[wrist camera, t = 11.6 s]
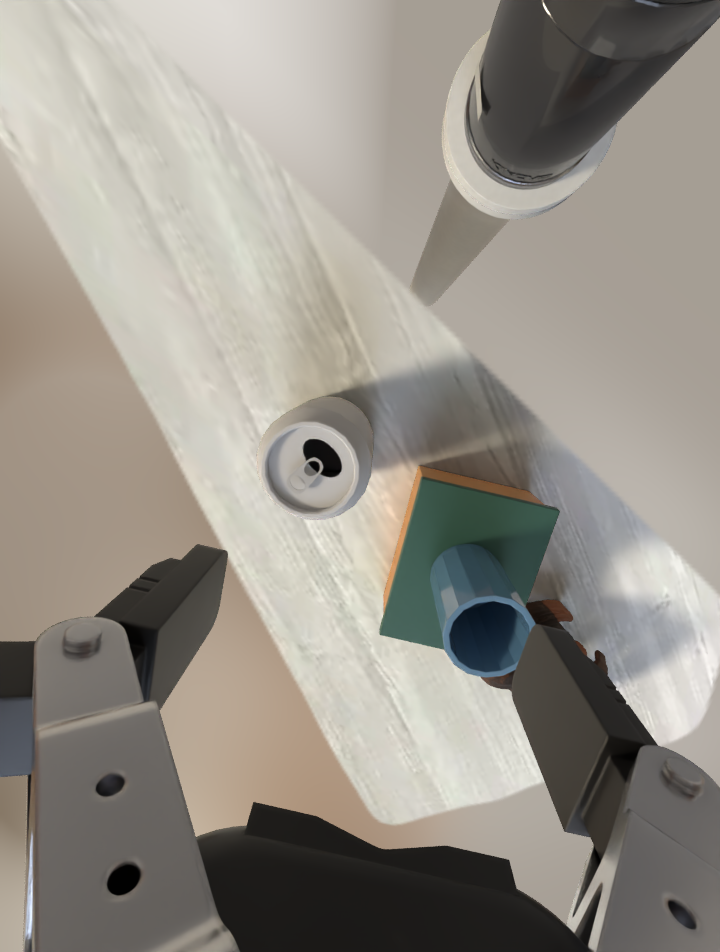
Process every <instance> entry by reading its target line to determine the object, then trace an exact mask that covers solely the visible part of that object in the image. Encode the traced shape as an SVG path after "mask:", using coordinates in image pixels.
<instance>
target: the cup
mask: <svg viewBox="0 0 720 952" xmlns="http://www.w3.org/2000/svg"><path fill="white" fill-rule="evenodd" d="M430 584H431V590H432V595H433V600H434V604H435V609H436V613H437V618H438V622H439V627H440V631H441V636H442V640H443V645H444V649H445V652H446V653H447V655H448V656H449V658H450V659H451V661H452V662H453V664H454V665H456V666H457V667H459V668H460V669H462V670H463V671H465V672H466V673H468V674H472V675H476V676H480V677H496V676H503V675H506V674H508V673H510V672H512V671H514V670H516V667H517V665H518V662H519V659H520V657H521V654H522V651H523V649H524V646H525V643H526V641H527V638H528V635H529V633H530V630H531V629H532V627H533V626H534V625H536V624H535V622H534V620H533V618H532V616H531V615H530V613H529V611H528V610H527V608H526V606H525V605H524V603H523V601H522V600H521V598H520V596H519V595H518V593H517V591H516V590H515V588H514V586H513V585H512V583H511V581H510V579H509V578H508V576H507V574H506V573H505V571H504V569H503V568H502V566H501V564H500V563H499V561H498V559H497V558H496V557H495V556H494V554H493V553H491V552H490V551H489V550H487V549H486V548H484V547H481V546H478V545H474V544H461V545H456V546H453V547H451V548H449V549H447V550H445V551H444V552H443V553H441V554H440V555H439V556H438V557H437V559H436V560H435V562H434V563H433V565H432V568H431V572H430Z"/></svg>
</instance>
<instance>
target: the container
mask: <svg viewBox="0 0 720 952" xmlns="http://www.w3.org/2000/svg"><path fill="white" fill-rule="evenodd" d="M559 512H560V511H559V510H558V509H557V508H555V507H551V506H547V505H544V504H543V503H542V502H541V501H540V500H539V499H537V498H536V497H535V496H534V495H533V494H532V493H530V492H529V491H525V490H521V489H517V488H512V487H508V486H504V485H500V484H495V483H491V482H487V481H483V480H478V479H474V478H470V477H465V476H461V475H457V474H453V473H448V472H444V471H440V470H436V469H431V468H427V467H423V466H418V470H417V473H416V477H415V481H414V485H413V488H412V492H411V496H410V499H409V503H408V507H407V510H406V514H405V518H404V522H403V525H402V529H401V533H400V536H399V540H398V544H397V548H396V551H395V555H394V559H393V562H392V566H391V570H390V573H389V577H388V581H387V585H386V588H385V592H384V615H383V618H382V622H381V626H380V635H383V636H388V637H392V638H396V639H401V640H405V641H409V642H414V643H418V644H422V645H427V646H431V647H435V648H440V649H444V645H443V640H442V636H441V631H440V627H439V622H438V618H437V613H436V609H435V604H434V600H433V595H432V590H431V584H430V572H431V568H432V565H433V563H434V562H435V560H436V559H437V557H438V556H439V555H440V554H441V553H443V552H444V551H445V550H447V549H449V548H451V547H453V546H456V545H461V544H474V545H478V546H481V547H484V548H486V549H487V550H489V551H490V552H491V553H493V554H494V556H495V557H496V558H497V559H498V561H499V563H500V564H501V566H502V568H503V569H504V571H505V573H506V574H507V576H508V578H509V579H510V581H511V583H512V585H513V586H514V588H515V590H516V591H517V593H518V595H519V596H520V598H521V600H522V601H523V603H524V605H525V606H526V604H527V601H528V598H529V595H530V593H531V590H532V587H533V584H534V582H535V579H536V576H537V573H538V570H539V568H540V565H541V562H542V559H543V557H544V554H545V551H546V548H547V546H548V543H549V540H550V537H551V535H552V532H553V529H554V526H555V524H556V521H557V518H558V515H559ZM444 650H445V649H444Z"/></svg>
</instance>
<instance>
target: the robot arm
mask: <svg viewBox="0 0 720 952" xmlns="http://www.w3.org/2000/svg"><path fill="white" fill-rule="evenodd" d="M719 17H720V0H501V1H500V4H499V7H498V10H497V13H496V16H495V19H494V22H493V25H492V28H491V31H490V34H489V37H488V40H487V43H486V46H485V49H484V52H483V54H482V57H481V60H480V63H479V61H478V64H477V67H476V70H475V75H474V78H473V80H472V83H471V86H470V89H469V93H468V96H467V100H466V105H465V113H464V127H465V135H466V139H467V143H468V146H469V149H470V152H471V154H472V156H473V158H474V160H475V162H476V163H477V164H478V166H479V167H480V168H481V170H482V171H483V172H484V173H485V174H486V175H487V176H488V177H490V178H491V179H493V180H494V181H496V182H497V183H499V184H501V185H504V186H506V187H509V188H514V189H521V190H530V189H537V188H541V187H544V186H547V185H550V184H552V183H554V182H556V181H558V180H559V179H561V178H563V177H564V176H565V175H567V174H568V173H569V172H570V171H571V170H573V169H574V168H575V167H576V166H577V165H578V164H579V163H580V162H581V160H582V159H583V158H584V157H585V156H586V155H587V153H588V152H589V151H590V149H591V148H592V147H593V146H594V145H595V144H596V143H597V142H598V141H599V140H600V139H601V138H602V137H603V136H604V135H605V134H606V133H607V132H608V131H609V130H610V129H611V128H612V127H613V126H614V125H615V124H616V123H617V122H618V121H619V120H620V119H621V118H622V117H623V116H624V115H625V114H626V113H627V112H628V111H629V110H630V109H631V108H632V107H633V106H634V105H635V104H636V103H637V102H638V101H639V100H640V99H641V97H643V95H644V94H645V93H646V92H647V91H648V90H649V89H650V88H651V87H652V86H653V85H654V84H655V83H656V82H657V81H658V80H659V79H660V78H661V77H662V76H663V75H664V74H665V73H666V72H667V71H668V70H669V69H670V68H671V67H672V66H673V65H674V64H675V63H676V62H677V61H678V60H679V59H680V57H682V56H683V55H684V54H685V52H687V51H688V50H689V49H690V47H691V46H692V45H693V44H694V43H695V42H696V41H697V40H698V39H699V38H700V37H701V36H702V35H703V34H704V33H705V32H706V31H707V30H708V29H709V28H710V27H711V26H712V25H713V24H714V23H715V22H716V21H717V19H718V18H719ZM227 558H228V553H227V551H225V550H221V549H217V548H212V547H208V546H204V545H200V544H197V545H196V546H195V547H194V548H193V549H192V550H191V551H190V552H189V553H188V554H187V555H186V556H185V557H184V558H183V559H182V560H177V559H173V558H170V559H167V560H165V561H162V562H159V563H157V564H155V565H152V566H151V567H150V568H149V569H147V570H146V571H145V572H144V573H143V574H142V575H141V576H140V578H139V579H138V578H137V579H136V580H135V581H134V582H133V583H132V584H131V585H130V586H129V588H126V589H125V590H124V591H123V592H121V593H120V594H119V595H118V596H117V597H116V598H115V599H113V600H112V601H111V602H110V603H109V604H108V605H107V606H106V607H105V608H103V609H102V610H101V611H100V612H99V613H98V614H96V615H95V616H94V617H80V618H74V619H70V620H66V621H63V622H60V623H57V624H55V625H53V626H51V627H50V628H48V629H47V630H45V631H44V632H43V633H42V634H40V636H39V637H38V638H37V640H36V641H29V642H0V777H8V776H18V775H19V776H20V775H27V810H26V811H27V812H26V863H25V865H26V866H25V900H24V928H23V930H24V931H23V952H720V787H719V786H718V785H717V784H716V783H715V782H714V781H713V779H712V778H711V777H710V776H709V775H707V774H706V773H705V772H704V771H703V770H702V769H701V768H699V767H698V766H697V765H695V764H694V763H693V762H691V761H690V760H688V759H686V758H685V757H683V756H681V755H679V754H678V753H676V752H674V751H671V750H669V749H667V748H664V747H661V746H658V745H657V743H656V742H655V741H654V739H653V738H652V736H651V735H650V734H649V732H648V731H647V730H646V728H645V727H644V725H643V724H642V723H641V721H640V720H639V719H638V717H637V716H636V714H635V713H634V712H633V710H632V709H631V707H630V706H629V705H627V704H626V701H625V699H624V698H623V696H622V695H621V694H620V692H619V691H617V690H616V687H615V685H614V684H613V683H612V681H611V680H610V679H609V677H608V676H607V674H606V673H605V672H604V671H603V670H602V669H601V668H600V667H599V666H598V665H596V664H595V663H594V662H593V661H592V660H591V659H590V658H588V657H587V656H586V655H584V653H583V652H582V651H581V649H580V648H579V646H578V645H577V643H576V642H575V641H574V639H573V638H572V636H571V635H570V634H569V632H567V631H565V630H561V629H556V628H552V627H548V626H543V625H539V624H536V625H534V626H533V627H532V629H531V630H530V633H529V635H528V638H527V641H526V643H525V646H524V649H523V651H522V654H521V657H520V659H519V662H518V665H517V667H516V670H515V673H514V676H513V681H512V697H513V701H514V704H515V707H516V709H517V712H518V714H519V717H520V719H521V722H522V724H523V727H524V730H525V732H526V735H527V737H528V740H529V742H530V745H531V747H532V750H533V752H534V755H535V758H536V760H537V763H538V765H539V768H540V770H541V773H542V775H543V778H544V781H545V783H546V786H547V788H548V791H549V793H550V796H551V798H552V801H553V804H554V806H555V809H556V811H557V814H558V816H559V819H560V821H561V824H562V826H563V829H564V831H565V832H569V833H573V834H578V835H582V836H586V837H591V839H592V842H593V844H594V845H593V848H592V849H591V852H590V853H589V855H588V858H587V860H586V863H585V866H584V869H583V872H582V876H581V879H580V882H579V885H578V888H577V891H576V894H575V898H574V901H573V904H572V907H571V910H570V913H569V916H568V920H567V923H566V925H565V924H564V923H563V922H562V921H561V920H560V919H559V918H558V917H557V916H556V915H554V914H553V913H552V912H551V911H549V910H548V909H547V908H545V907H544V906H543V905H542V904H540V903H539V902H537V901H536V900H534V899H533V898H531V897H530V896H528V895H527V894H525V893H523V892H521V891H520V890H518V889H516V885H515V881H514V877H513V873H512V869H511V866H510V862H509V860H507V859H503V858H499V857H494V856H490V855H485V854H481V853H477V852H472V851H467V850H463V849H459V848H454V847H450V846H435V847H419V848H404V849H390V850H389V849H381V848H378V847H375V846H373V845H371V844H369V843H367V842H365V841H363V840H362V839H360V838H357V837H356V836H354V835H352V834H350V833H348V832H346V831H344V830H342V829H340V828H338V827H336V826H334V825H333V824H330V823H329V822H327V821H324V820H323V819H321V818H319V817H317V816H313V815H309V814H304V813H300V812H296V811H291V810H287V809H282V808H277V807H273V806H269V805H265V804H260V803H256V802H253V806H252V809H251V813H250V816H249V820H248V823H247V826H238V827H230V828H224V829H219V830H215V831H212V832H209V833H206V834H203V835H200V836H198V837H196V836H195V833H194V829H193V826H192V822H191V819H190V815H189V812H188V808H187V805H186V801H185V798H184V795H183V791H182V787H181V784H180V780H179V777H178V774H177V770H176V767H175V763H174V760H173V756H172V753H171V749H170V746H169V742H168V739H167V735H166V732H165V728H164V725H163V721H162V718H161V714H160V709H161V708H162V706H163V704H164V703H165V701H166V700H167V698H168V697H169V695H170V693H171V692H172V690H173V688H174V687H175V686H176V684H177V682H178V681H179V679H180V678H181V676H182V675H183V673H184V672H185V670H186V668H187V667H188V665H189V664H190V662H191V660H192V659H193V657H194V656H195V654H196V652H197V651H198V650H199V648H200V646H201V645H202V643H203V642H204V640H205V639H206V637H207V635H208V634H209V632H210V630H211V629H212V627H213V625H214V622H215V619H216V617H217V614H218V610H219V606H220V600H221V594H222V589H223V583H224V577H225V571H226V565H227Z"/></svg>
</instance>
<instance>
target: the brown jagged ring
mask: <svg viewBox="0 0 720 952" xmlns="http://www.w3.org/2000/svg"><path fill="white" fill-rule="evenodd" d="M526 608H527V610H528V611H529V613H530V615H531V616H532V618H533V620H534V622H535V624H539V625H543V626H548V627H552V628H556V629H561V630H565V629H564V628H563V627H562V625H561V624H560V623H559V622H561V621H569V622H571V621H572V620H573V616H572V614H571V613H570V612H569V611H568V610H567V609H566V608H565V607H564V606H563V604H562V603H561V602H560V601H557V600H542V601H535V602H531V603H527V604H526ZM565 631H566V630H565ZM574 641H575V640H574ZM575 642H576V643H577V645H578V646H579V648H580V649H581V651H582V652H583V653H584V655H586V656H587V652H586V649H585V648H584V647H583V646H582V644H581V643H580V642H578V641H575ZM594 663H595V664H596V665H598V666H599V667H600V668H601V669H602V670H603V671H604V672H605V673H606V674H607V675H608V672H607V671H608V668H607V665H606V661H605V656H604V654H602V653H601V652H600V651H599V650H596V651H595V661H594ZM514 673H515V670H514V671H512V672H510V673H508V674H506V675H503V676H496V677H481V678H482V679H483V680H484V681H485V682H486V683H487V684H489V685H490V686H493V687H496V688H500V689H509V690H510V691H512V681H513V676H514Z"/></svg>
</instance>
